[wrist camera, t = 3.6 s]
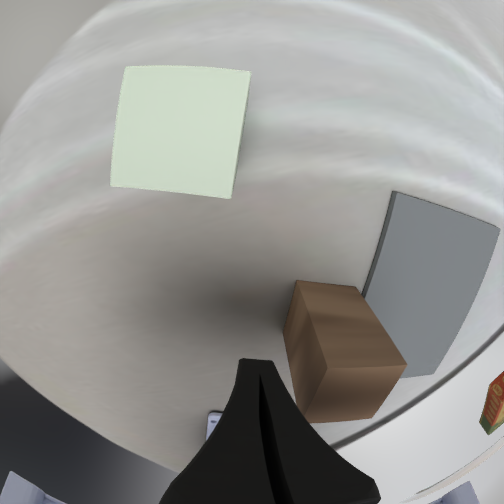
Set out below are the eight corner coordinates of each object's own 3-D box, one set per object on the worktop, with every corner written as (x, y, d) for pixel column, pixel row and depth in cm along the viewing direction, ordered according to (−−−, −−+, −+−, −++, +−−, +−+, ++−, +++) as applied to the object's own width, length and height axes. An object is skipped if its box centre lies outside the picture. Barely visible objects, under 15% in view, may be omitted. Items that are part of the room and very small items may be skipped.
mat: (430, 370, 20) (433, 374, 19) (327, 377, 19) (328, 382, 19) (496, 226, 15) (500, 228, 14) (392, 190, 14) (396, 192, 13)
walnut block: (337, 335, 17) (371, 418, 11) (282, 332, 17) (300, 423, 11) (355, 286, 16) (407, 364, 10) (296, 280, 16) (328, 367, 9)
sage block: (236, 176, 14) (230, 199, 8) (162, 167, 13) (110, 186, 8) (247, 102, 12) (251, 71, 7) (171, 95, 12) (125, 66, 6)
